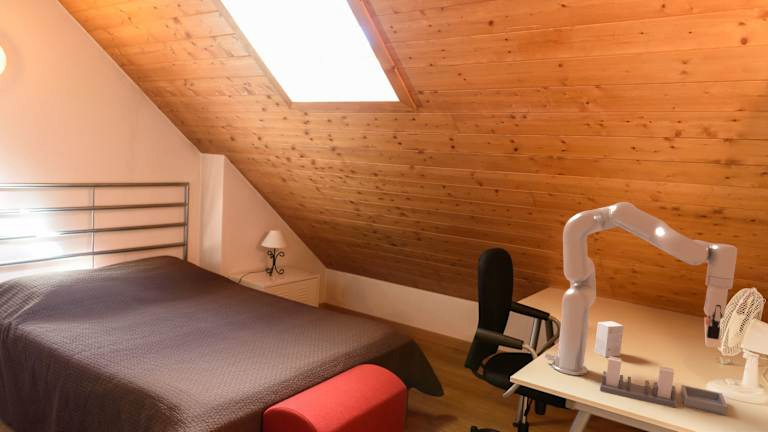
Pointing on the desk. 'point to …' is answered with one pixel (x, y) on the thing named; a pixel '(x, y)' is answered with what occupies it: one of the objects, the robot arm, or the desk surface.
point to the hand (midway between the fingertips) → (711, 335)
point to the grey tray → (703, 400)
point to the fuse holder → (657, 394)
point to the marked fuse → (710, 341)
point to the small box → (608, 339)
